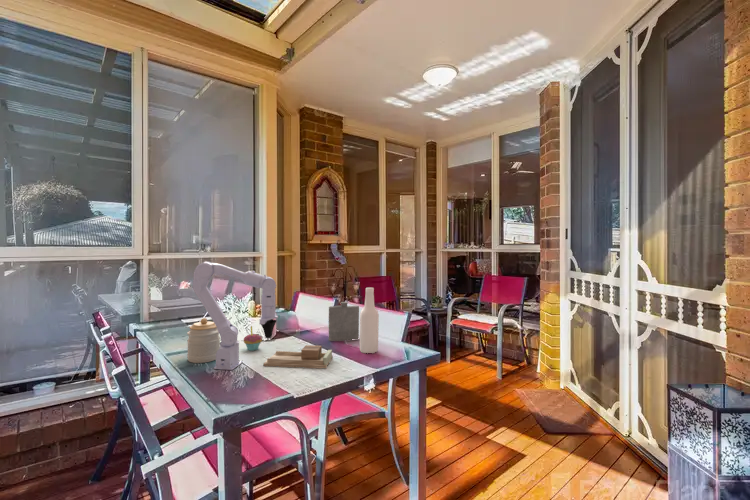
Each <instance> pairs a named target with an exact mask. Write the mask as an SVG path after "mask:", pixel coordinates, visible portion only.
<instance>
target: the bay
mask: <svg viewBox="0 0 750 500" xmlns="http://www.w3.org/2000/svg"><path fill="white" fill-rule="evenodd" d="M332 360H333V349H328V350H327V351H326V352H322V357H321V359H320V360H302V359H301V351H284V350H283V351H282V350H276V351H275V352H274V354H273V355H271V357H268V358H266V360H265V362H263V363H262V364H263V365H262V366H263V367H276V366H279V367H281V368H299V367H304V368H305V369H322V368H326V369H327V367H328V366H329V364H330V363H331V361H332ZM329 362H330V363H329ZM327 365H328V366H327Z"/></svg>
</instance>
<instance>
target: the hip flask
mask: <svg viewBox="0 0 750 500" xmlns="http://www.w3.org/2000/svg"><path fill="white" fill-rule="evenodd" d="M348 303H349V302H348V301H341V302H340V304H341V305H334V306H328V341H329V342H345V341H344V340H350V341H353V340H352V339H358V338H359V339H360V306H359V305H349V306H348ZM359 339H358V340H359Z"/></svg>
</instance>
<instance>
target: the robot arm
mask: <svg viewBox="0 0 750 500" xmlns="http://www.w3.org/2000/svg"><path fill="white" fill-rule="evenodd" d="M193 271H194V272H192V273H193V282H192V289H193V292H194V293H195V294H196V296H197V298H198V300H199V301H200V302H201V304H202V306H203V307H204V309H205V311H206V312H207V314H208V316H209V317H210V318H211V320H212V322H214V323H215V325H216V326H217V329H218V332H219V337H220V348H219V350H218V351H217V352H216V360H215V366H214V367H213V369H214V370H228V371H229V370H230V371H233V370H234V369H236V368H237V367H238V366H240V365H241V364H243V362H244V361H243V360H240V341H239V340H238V335H239V330H238V329H239V328H237V327H236V325H233V324H232V322H231V321H230V320H229V319H228V317H227V316H226V315H225V313H224V311H223V310H222V308H221V306H220V304H218V302H217V301H216V299H215V297H214V296H213V293H212V292H211V290H210V289H209V288H208V285H209V282H210V279H211V278H212V276H213V277H214V276H220V275H224V276H228V277H230V278H234V279H238V280H241V281H242V283H243V284H245V285H246V286H250V287H253V288H256V289H261V291H262V292H261V305H260V306H261V309H260V310H261V312H260V313H261V316H260V319H259V325H261V327H262V330H263V333H264V337H265V339H271V338H273V337H272V336H273V332H274V327H275V325H276V323H277V319H279V315H277V314H278V313H277V312H276V288H277V284H276V281H275V279H274V278H272V277H271V276H267V275H266V274H264V275H262V274H260V273H256V271H255V270H248V271H245V272H244V271H241V270H238V269H236V268H233V267H229V266H228V265H224V264H222V263H221V264H220V263H217V262H211V261H209V260H207V261H202V262H201V263H199V264H198V265H197V266H196V267H195V269H194V270H193Z"/></svg>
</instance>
